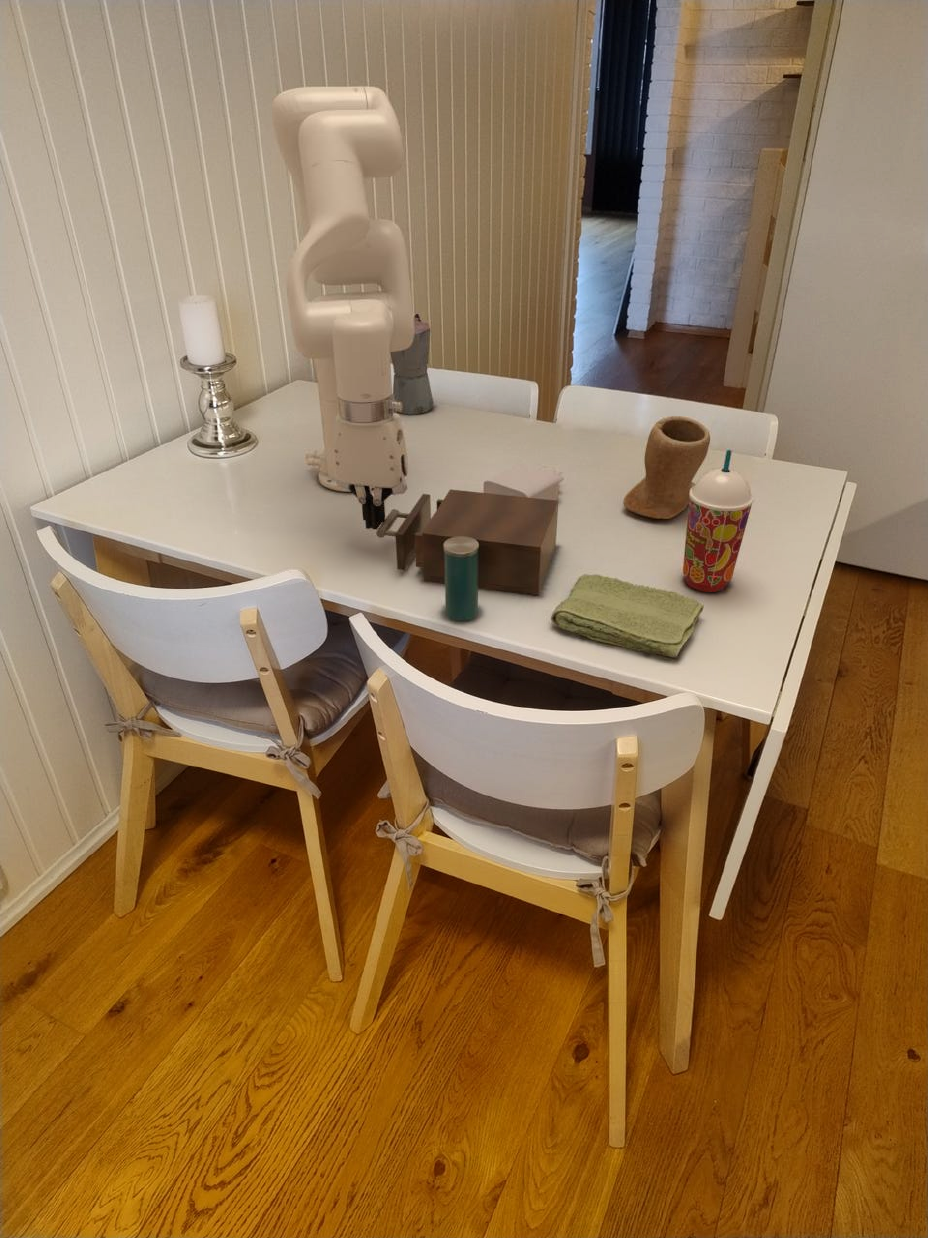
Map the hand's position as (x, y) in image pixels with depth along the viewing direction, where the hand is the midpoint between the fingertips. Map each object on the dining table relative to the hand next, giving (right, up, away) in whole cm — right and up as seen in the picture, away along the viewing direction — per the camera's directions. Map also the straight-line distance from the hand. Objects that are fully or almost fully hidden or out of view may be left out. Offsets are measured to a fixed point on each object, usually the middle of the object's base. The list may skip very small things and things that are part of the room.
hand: (374, 524), depth 126 cm
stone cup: (+47, +5, +14) cm, 50 cm away
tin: (+13, -13, -13) cm, 23 cm away
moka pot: (+2, +32, +55) cm, 64 cm away
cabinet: (+18, -6, -2) cm, 19 cm away
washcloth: (+35, -15, -15) cm, 41 cm away
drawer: (+11, -4, -1) cm, 12 cm away
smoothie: (+48, -9, -6) cm, 49 cm away
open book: (+25, +7, +17) cm, 31 cm away
